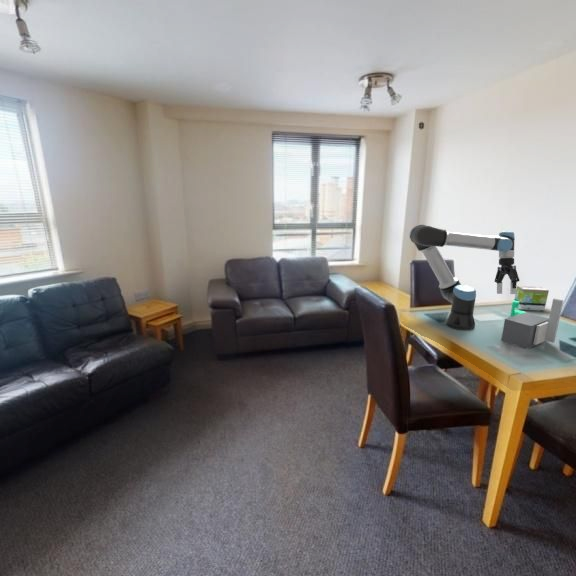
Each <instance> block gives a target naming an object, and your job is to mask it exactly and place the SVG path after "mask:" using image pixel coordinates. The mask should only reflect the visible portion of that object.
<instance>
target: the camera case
mask: <svg viewBox="0 0 576 576" xmlns="http://www.w3.org/2000/svg"><path fill="white" fill-rule="evenodd" d="M525 312H526V311H525ZM525 312H524V313H521V314H518V315H515V316H512V317H510V316H509V317H506V318H504V322H503V327H502V334H501V340H500V341H503V342H505V343H509V344H512V345H513V346H517V347H520V348H523V349H526V350H527V349H530V348H532V347H535V345H534V344H533V343H534V338H535V332H536V327H537V325H539V324H542V323H545V322H549V317H544V316H541V315H537V314H532V313H528V312H526V313H525Z"/></svg>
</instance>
